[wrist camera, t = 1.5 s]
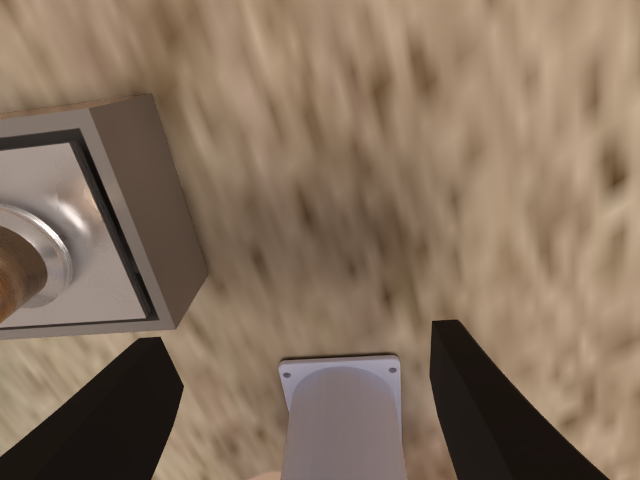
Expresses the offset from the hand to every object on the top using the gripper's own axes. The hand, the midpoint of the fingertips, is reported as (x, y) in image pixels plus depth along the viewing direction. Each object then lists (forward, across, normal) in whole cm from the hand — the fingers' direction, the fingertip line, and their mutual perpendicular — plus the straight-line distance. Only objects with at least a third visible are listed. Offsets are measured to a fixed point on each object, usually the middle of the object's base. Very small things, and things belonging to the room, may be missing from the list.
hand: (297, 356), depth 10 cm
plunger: (+6, +12, -1) cm, 13 cm away
